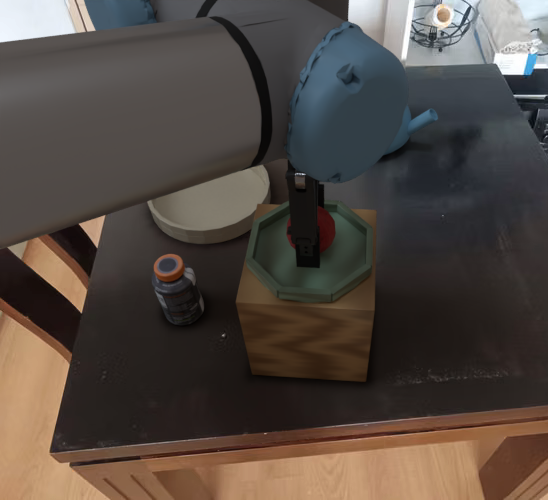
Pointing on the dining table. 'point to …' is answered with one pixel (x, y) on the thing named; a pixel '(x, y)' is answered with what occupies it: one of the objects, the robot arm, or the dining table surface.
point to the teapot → (411, 127)
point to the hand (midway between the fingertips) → (311, 243)
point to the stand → (309, 298)
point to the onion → (322, 229)
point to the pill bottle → (177, 290)
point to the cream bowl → (213, 207)
